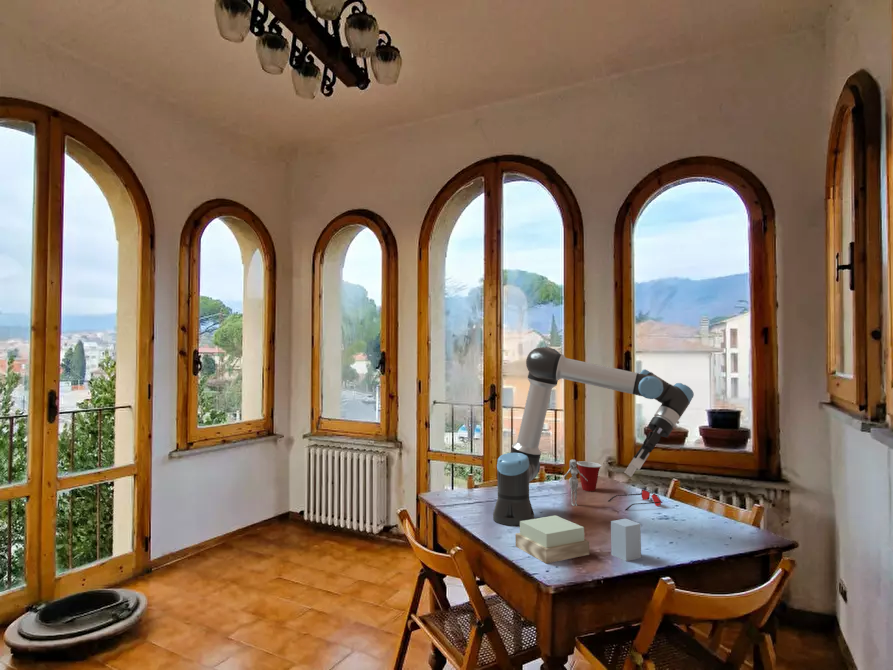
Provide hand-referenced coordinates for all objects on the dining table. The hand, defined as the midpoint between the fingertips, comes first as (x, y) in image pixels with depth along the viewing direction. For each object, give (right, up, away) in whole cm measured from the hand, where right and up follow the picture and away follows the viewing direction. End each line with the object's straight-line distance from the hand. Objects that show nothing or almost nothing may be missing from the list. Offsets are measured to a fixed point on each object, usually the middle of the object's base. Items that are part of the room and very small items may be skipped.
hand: (631, 471), depth 184 cm
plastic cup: (+1, -24, +59) cm, 64 cm away
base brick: (-30, -20, -16) cm, 40 cm away
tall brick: (-9, -20, -21) cm, 31 cm away
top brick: (-30, -16, -16) cm, 38 cm away
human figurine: (-11, -23, +35) cm, 43 cm away
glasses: (+13, -23, +35) cm, 44 cm away
